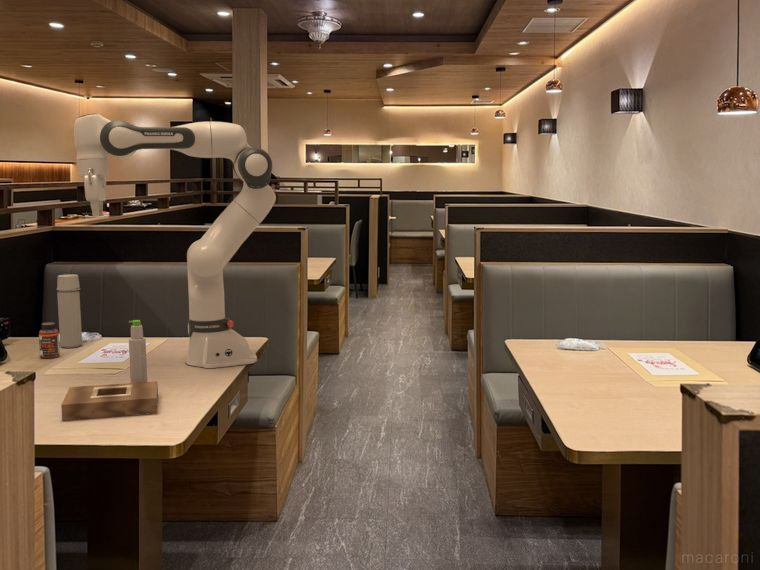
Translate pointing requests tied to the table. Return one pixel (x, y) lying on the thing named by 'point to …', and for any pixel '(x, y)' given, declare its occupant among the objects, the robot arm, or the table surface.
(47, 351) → the supplement bottle
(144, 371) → the bottle
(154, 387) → the socket board
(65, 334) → the water bottle
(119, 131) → the robot arm
